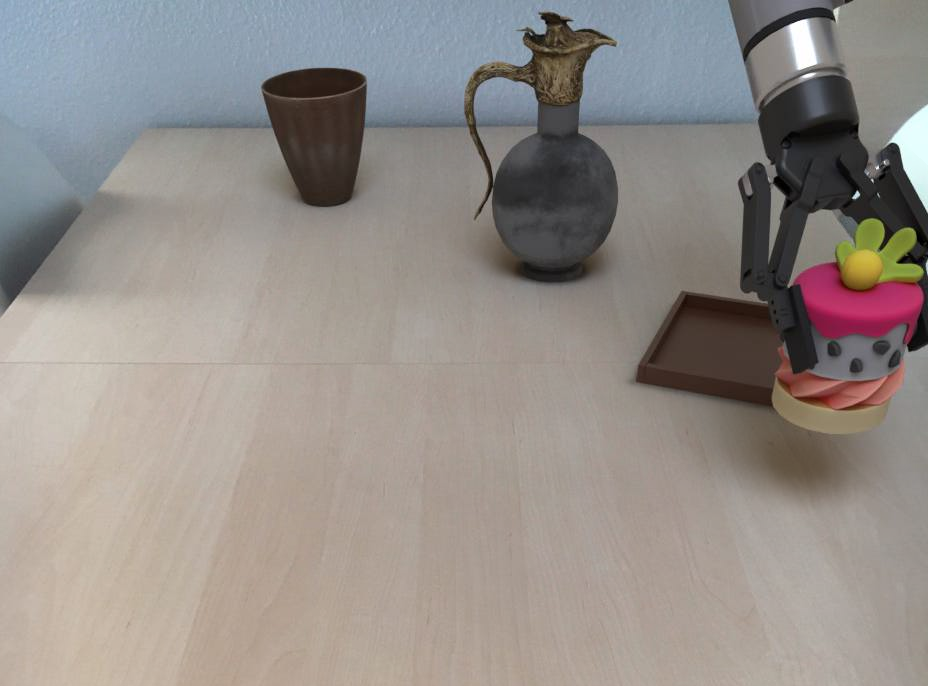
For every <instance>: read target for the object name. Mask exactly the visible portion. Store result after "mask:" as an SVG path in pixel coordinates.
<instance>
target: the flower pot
mask: <svg viewBox="0 0 928 686" xmlns="http://www.w3.org/2000/svg"><path fill="white" fill-rule="evenodd" d="M260 89H261V93H262V96H263V100H264V104H265V107H266V111H267V114H268V119H269V121H270V123H271V128H272V130H273V134H274V136H275V139H276V141H277V144H278V147H279V150H280V153H281V155H282V158H283V160H284V163H285V165H286V167H287V169H288V172H289V174H290V176H291V178H292V180H293V183H294V184H295V186H296V189H297V190H298V192H299V194H300V197H301V198H302V200H303V202H305V204H307V205H309V206H314V207H332V206H333V207H334V206H338V205H341V204H344V203H346V202H348V201H350V199H351V198H352V196H353V192H354V188H355V184H356V181H357V175H358V171H359V167H360V166H359V165H360V160H361V156H362V148H363V142H364V133H365V124H366V113H367V95H368V94H367V91H368V90H367V89H368V78H367V77H366V75H364V74H363V73H361V72H359V71H357V70H353V69H348V68H341V67H311V68H309V67H308V68H300V69H296V70H295V69H294V70H290V71H289V70H288V71H285V72H282V73H279V74H276V75H273V76H271V77H269V78H267V79H265V81H263V82H262V83H261V86H260Z"/></svg>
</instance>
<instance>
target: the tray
mask: <svg viewBox="0 0 928 686" xmlns="http://www.w3.org/2000/svg"><path fill="white" fill-rule="evenodd" d="M782 346H783V342H782V341H781V339H780V334H777V333H776V331H775V330H774V327H773V323H772V319H771V315H770V311H769V306H768V303H765V302H760V301H753V300H745V299H738V298H732V297H725V296H719V295H713V294H708V293H707V294H705V293H699V292H694V291H686V290H681V291H680V293H679V294H678V296H677V298H676V299H675V302H674V303H673V304H672V307H671V308H670V309H669V311H668V313H667V315H666V317H665V318H664V320H663V322H662V324H661V325H660V327H659V328H658V330H657V332H656V334H655V336H654V337H653V339H652V341H651V342H650V344H649V346H648V348H647V350H646V351H645V353H644V355H643V356H642V358H641V360H640V362H639V363H638V365H637V372H636V373H637V374H636V383H638V384H645V385H649V386H656V387H661V388H667V389H672V390H677V391H683V392H688V393H694V394H699V395H705V396H710V397H716V398H721V399H727V400H733V401H738V402H744V403H749V404H755V405H761V406H766V407H771V408H774V407H773V403H772V393H773V389H774V384H775V379H776V375H775V373H776V372H777V371H778V369H779V368H780V366H781V364H782V363H783V360H782V358H781V356H780V354H779V352H778V348H779V347H782Z"/></svg>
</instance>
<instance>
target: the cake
mask: <svg viewBox="0 0 928 686" xmlns="http://www.w3.org/2000/svg"><path fill="white" fill-rule="evenodd" d="M884 234H885V230H884V226H883V224H882V222H881V221H879V220H877V219H866V220H864V221H862V222H861V223H860V224H859V225H857V227H856V229H855V231H854V237H853V238H854V239H853V240H854V241H853V242H854V246H853V244H852V242H851V241H848V240H842V241H840V242H838V244H837V245H836V247H835V251H834V257H835V261H830V262H825V263H820V264H816V265H814V266H811V267H808V268H807V269H805V270H803V271H802V272H800V273H799V274H798V275H797V276H796V278H794V281H793V283H792V285H798V284H800V286H801V290H802V294H803V299H804V303H805V307H806V311H807V315H808V320H809V324H810V328H811V332H812V336H813V340H814V345H815V349H816V353H817V357H818V361H819V363H817V364H816V365H814V366H812V367H810V368H809V369H807V370H805V371H804V372H802V373H799V374H794V375H793V372H792V368H791V363H790V359H789V355H788V351H787V347H786V343H785V338H784V334H783V333H781V334H780V339H781V341H782V342H783V346H782V347H779V348H778V352H779V354H780V356H781V358H782V360H783V363H782V364H781V366H780V368H779V369H778V371H777V372H776V373H775V375H776V379H775V384H774V389H773V393H772V403H773V407H772V408H774V409H775V411H776V412H777V414H779V416H781V417H782V418H783V419H785V420H786V421H788V422H790V423H791V424H793V425H796V426H797V427H800V428H803V429H806V430H809V431H812V432H813V431H814V432H817V433H823V434H832V435H850V434H851V435H852V434H858V433H864V432H867V431H869V430H872V429H875V428H877V427H878V426H879V425H880V424H881V423H883V422H884V421H885V419H886V416H887V413H888V409H889V407H890V403H891V400H892V397H893V396H894V394H895V393H896V392H898V390H899V389H900V388H901V387H902V386H903V384H904V377H905V374H906V373H905V372H906V366H905V358H904V356H905V354H906V353H905V352H906V350H907V344H908V343H909V341H910V340H911V337H912V336H913V335H914V334H915V332H916V329H917V319H918V317H919V314H920V312H921V309H922V305H923V300H924V297H923V292H922V290H921V288H920V286H919V285H918V284H917V283H916V282H917V281H919V280H920V279H921V278H922V277H923V274H924V271H923V269H922V268H921V267H920V266H918V265H916V264H897V262H898V261H899V260H900V259H901V258H902V257H903V256H904V255H906V256H907V253H908V252H909V251H910V250H911V249H912V248H913V247H914V246H915V244H916V240H917V238H916V233H915V231H914V229H912V228H903V229H901V230H899V231H898V232H896V233H895V234H894V235H893V236H892V237H891V239H890V240H889V242H888V243H887V245H886V246H885V247H884V248H883V250H881V251H880V249H879V247H880V246H881V243H882V241H883V239H884Z"/></svg>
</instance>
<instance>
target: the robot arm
mask: <svg viewBox="0 0 928 686" xmlns="http://www.w3.org/2000/svg"><path fill="white" fill-rule="evenodd" d="M853 1H854V0H727V2H728V5H729V10H730V13H731V17H732V21H733V25H734V29H735V33H736V36H737V41H738V45H739V48H740V52H741V57H742V61H743V64H744V68H745V73H746V77H747V80H748V84H749V89H750V93H751V97H752V101H753V105H754V109H755V112H757V113H758V114H759V115H758V119H757V125H758V128H759V133H760V137H761V141H762V145H763V151H764V154H765V156H766V158H767V160H768V161H770V163H769V164H768V165H764V164H763V163H762V162H760V161H756V162H754V163H752V165H751V166H750V167H749V168H748V169H747V170H746V171H745V172H744V173H743V174H742V175H741V176H740V177H739V178H738V180H737V187H738V190H739V194H740V197H741V200H742V204H743V211H742V212H743V213H742V233H741V251H740V252H741V255H740V275H739V289H740V290H741V292H742V293H744V294H751V293H756V296H757V298H758V300H759V301H761V302H767V304H768V306H769V311H770V315H771V319H772V323H773V327H774V330H775V331H776V333H777V334H781V333H783V334H784V338H785V343H786V347H787V351H788V355H789V359H790V363H791V368H792V372H793V375H794V374H799V373H802V372H804V371H805V370H807V369H809V368H810V367H812V366H814V365H816V364H817V363H819V361H818V357H817V353H816V349H815V345H814V340H813V336H812V332H811V328H810V324H809V320H808V315H807V311H806V307H805V303H804V299H803V294H802V290H801V286H800V284H798V285H793V284H792V285H791V286H788V285H789V283H790V280H791V277H792V274H793V271H794V268H795V263H796V259H797V256H798V253H799V249H800V245H801V243H802V239H803V234H804V232H805V229H806V225H807V221H808V217H809V215H810V214H815V213H816V212H818V211H821V210H825V211H835V210H839V211H840V212H841V213H842V215H844V216H845V217H847V218H851V219H852V220H853V221H854V222H855V223H856V224H857V226H859V224H860V223H861V222H862V221H864V220H866V219H877V220H879V221H881V222H882V224H883V226H884V230H885V234H884V239H883V241H882V243H881V246H880V247H879V249H878V250H879V252H880V251H881V250H883V248H884V247H885V246H886V245H887V243H888V242H889V240H890V239H891V237H892V236H893V235H894V234H895V233H896V232H898V231H899V230H901V229H903V228H912V229H914V231H915V233H916V238H917V240H916V244H915V246H914V247H913V248H912V249H911V250H910V251H909V252H908V253H907V254H906V255H904V256H903V257H902V258H901V259H900V260H899V261H898V262H897V264H916V265H918V266H920V267H921V268H922V269H923V271H924V274H923V277H922V278H921V279H920V280H919V281H917V282H916V283H917V284H918V285H919V286H920V288H921V290H922V292H923V297H924V300H923V305H922V309H921V312H920V314H919V317H918V319H917V329H916V332H915V334H914V335H913V336H912V337H911V340H910V341H909V343H908V344H907V346H906V349H907V352H908V353H912V352H917V351H918V350H921V349H922V348H925V347H926V346H928V270H927V262H928V211H927V209H926V207H925V205H924V203H923V201H922V200H921V197H920V196H919V194H918V192H917V190H916V188H915V187H914V185H913V183H912V181H911V179H910V177H909V175H908V173H907V172H906V170H905V168H904V163H903V158H902V153H901V148H900V146H899V144H898V143H896V142H889V143H888V144H887V145H885V147H883V148H882V149H881V148H880V149H871V150H868V149H867V147H866V146H865V145H864V143H863V142H862V141H861V139H860V135H859V128H860V113H859V109H858V106H857V102H856V97H855V94H854V93H855V92H854V89H853V86H852V82H851V81H850V79H848V75H849V66H848V62H847V59H846V55H845V51H844V46H843V43H842V38H841V35H840V31H839V27H838V23H837V19H836V15H835V11H834V10H837V9H838V8H840V7H843V6H844V5H847V4H849V3H851V2H853ZM865 171H867V172H868V173H866V172H865ZM774 187H775V188H776V189H777V190H778V191H779V192H780V193H781V194H782V195H784V201H783V204H782V208H781V211H780V214H779V221H780V223H779V226H778V229H777V233H776V237H775V240H774V243H773V247H772V251H771V254H770V235H771V233H770V232H771V211H772V189H773V188H774ZM857 192H858V194H859V195H858V196H857V197H856V198H854V196H855V195H856V194H857ZM769 254H770V255H769ZM769 257H770V258H769Z"/></svg>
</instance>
